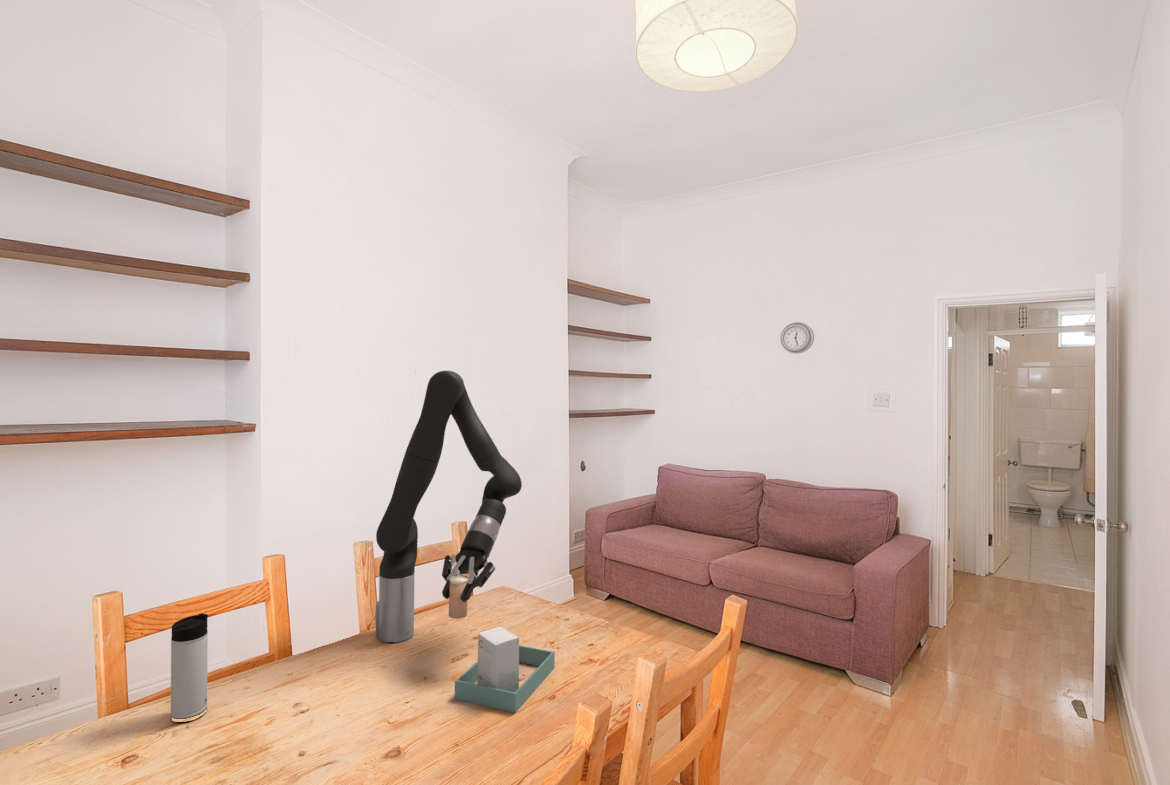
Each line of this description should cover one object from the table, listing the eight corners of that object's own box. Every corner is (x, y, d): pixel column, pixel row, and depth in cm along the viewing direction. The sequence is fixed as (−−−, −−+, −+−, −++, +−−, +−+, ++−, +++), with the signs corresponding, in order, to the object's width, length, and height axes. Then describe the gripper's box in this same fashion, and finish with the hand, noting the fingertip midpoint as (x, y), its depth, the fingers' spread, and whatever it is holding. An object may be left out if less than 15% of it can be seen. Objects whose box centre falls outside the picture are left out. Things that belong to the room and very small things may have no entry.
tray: (454, 698, 128) (454, 680, 128) (500, 657, 148) (500, 641, 148) (515, 712, 123) (515, 694, 123) (554, 667, 142) (554, 651, 142)
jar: (444, 616, 140) (446, 579, 139) (454, 610, 144) (456, 574, 144) (460, 619, 138) (462, 582, 138) (470, 613, 142) (471, 576, 142)
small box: (519, 695, 130) (520, 637, 130) (494, 704, 126) (495, 645, 126) (500, 680, 136) (501, 625, 136) (476, 689, 132) (477, 632, 132)
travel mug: (215, 709, 122) (216, 615, 122) (185, 726, 116) (185, 627, 116) (194, 703, 124) (195, 611, 124) (163, 720, 118) (163, 623, 118)
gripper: (452, 525, 150) (422, 587, 139) (501, 532, 145) (474, 596, 134) (462, 541, 155) (434, 601, 144) (510, 548, 150) (485, 611, 139)
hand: (454, 598), depth 139 cm, fingers closed on jar, 4 cm apart
